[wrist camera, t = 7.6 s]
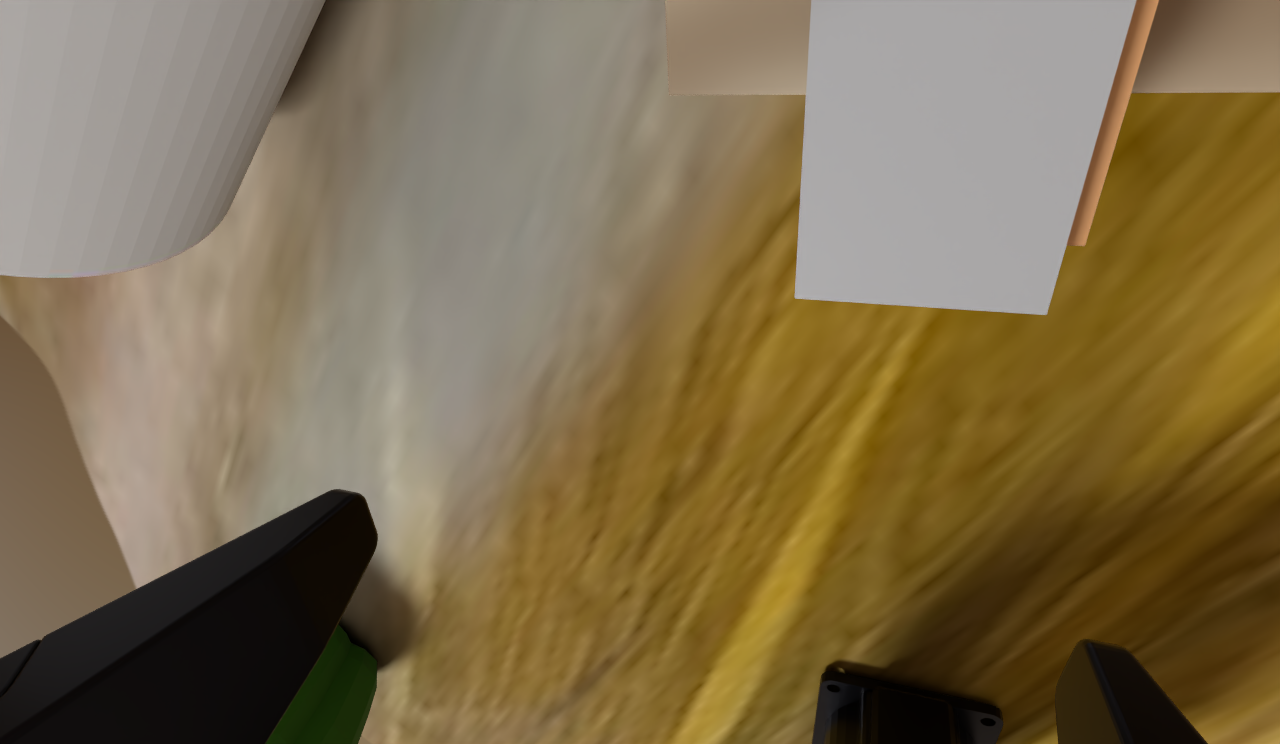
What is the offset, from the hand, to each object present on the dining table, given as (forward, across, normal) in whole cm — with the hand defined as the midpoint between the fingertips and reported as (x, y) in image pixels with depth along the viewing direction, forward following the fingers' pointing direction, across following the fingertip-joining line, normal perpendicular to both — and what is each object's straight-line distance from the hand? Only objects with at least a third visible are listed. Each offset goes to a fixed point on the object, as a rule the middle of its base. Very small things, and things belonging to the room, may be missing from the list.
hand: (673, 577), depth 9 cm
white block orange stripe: (+12, -3, -5) cm, 13 cm away
